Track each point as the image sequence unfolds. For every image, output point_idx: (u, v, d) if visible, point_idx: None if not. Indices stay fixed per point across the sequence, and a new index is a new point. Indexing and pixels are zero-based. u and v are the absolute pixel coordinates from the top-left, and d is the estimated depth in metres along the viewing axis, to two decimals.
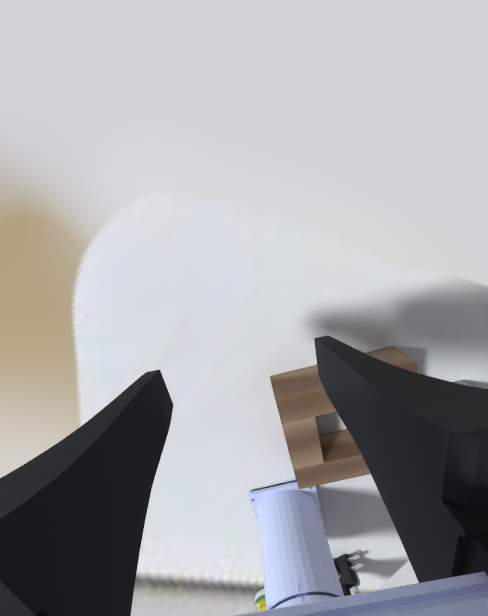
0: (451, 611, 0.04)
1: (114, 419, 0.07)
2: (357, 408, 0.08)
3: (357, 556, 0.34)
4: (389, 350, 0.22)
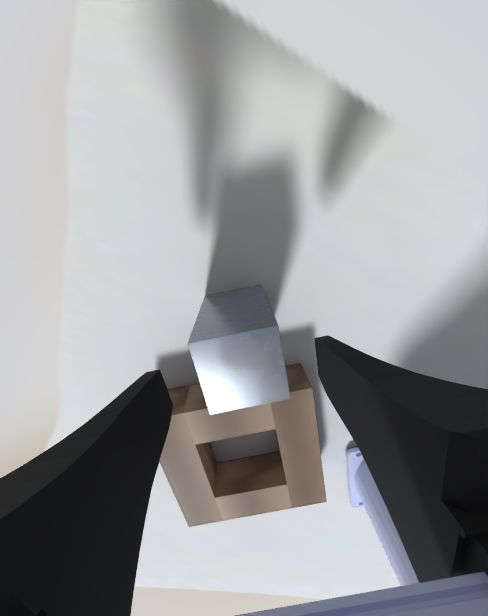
0: (451, 611, 0.04)
1: (114, 419, 0.07)
2: (357, 408, 0.08)
3: None
4: None
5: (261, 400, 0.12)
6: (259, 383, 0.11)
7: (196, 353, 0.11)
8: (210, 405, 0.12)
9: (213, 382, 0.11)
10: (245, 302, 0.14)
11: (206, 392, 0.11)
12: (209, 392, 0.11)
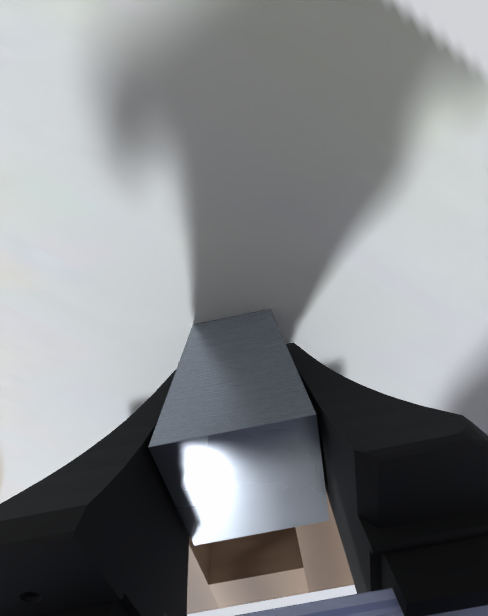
0: (451, 611, 0.04)
1: None
2: None
3: None
4: None
5: (280, 524, 0.07)
6: (278, 501, 0.07)
7: (165, 462, 0.06)
8: (194, 533, 0.07)
9: (198, 502, 0.06)
10: (250, 343, 0.09)
11: (186, 516, 0.07)
12: (191, 516, 0.07)
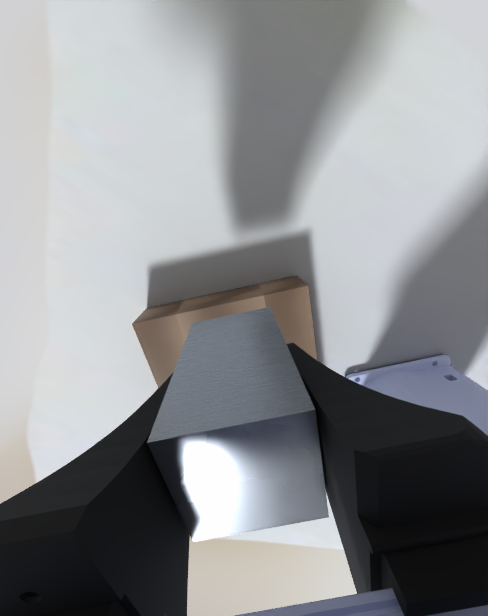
0: (451, 611, 0.04)
1: None
2: None
3: None
4: None
5: (279, 521, 0.07)
6: (277, 497, 0.07)
7: (164, 457, 0.06)
8: (193, 529, 0.07)
9: (197, 498, 0.06)
10: (249, 340, 0.09)
11: (185, 513, 0.07)
12: (190, 513, 0.07)
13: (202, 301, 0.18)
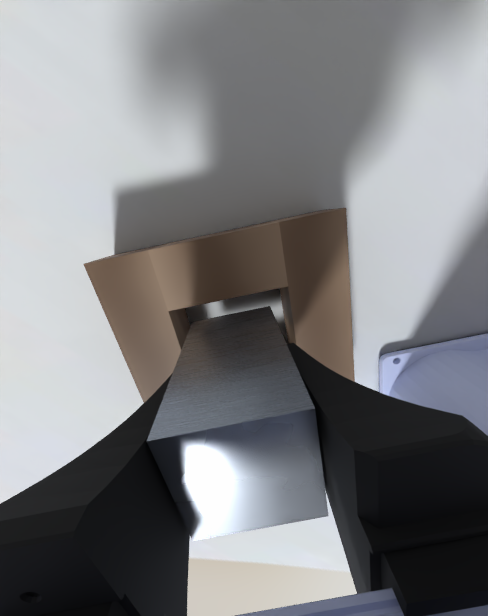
0: (451, 611, 0.04)
1: None
2: None
3: None
4: None
5: (279, 519, 0.07)
6: (276, 496, 0.07)
7: (164, 456, 0.06)
8: (192, 528, 0.07)
9: (196, 498, 0.06)
10: (249, 339, 0.09)
11: (185, 512, 0.07)
12: (190, 511, 0.07)
13: (189, 239, 0.12)
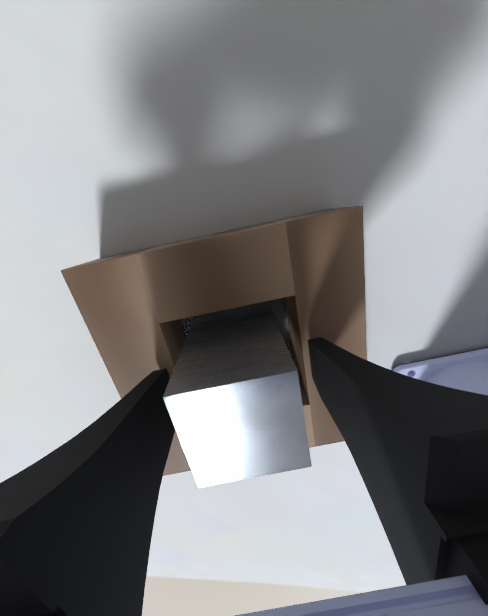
0: (451, 611, 0.04)
1: (124, 417, 0.07)
2: (347, 410, 0.08)
3: None
4: None
5: (270, 469, 0.08)
6: (268, 447, 0.08)
7: (176, 410, 0.07)
8: (198, 476, 0.08)
9: (202, 448, 0.08)
10: (246, 324, 0.11)
11: (192, 460, 0.08)
12: (197, 460, 0.08)
13: (183, 242, 0.11)
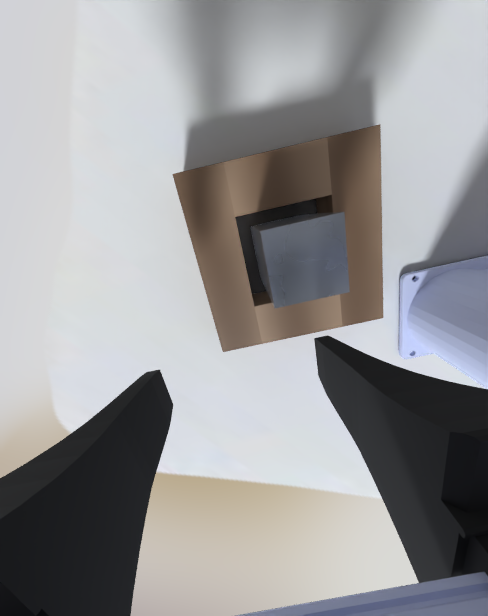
0: (451, 611, 0.04)
1: (114, 419, 0.07)
2: (357, 408, 0.08)
3: None
4: None
5: (322, 293, 0.13)
6: (322, 274, 0.12)
7: (267, 242, 0.12)
8: (275, 298, 0.13)
9: (280, 273, 0.12)
10: (296, 218, 0.15)
11: (273, 284, 0.12)
12: (275, 284, 0.12)
13: None
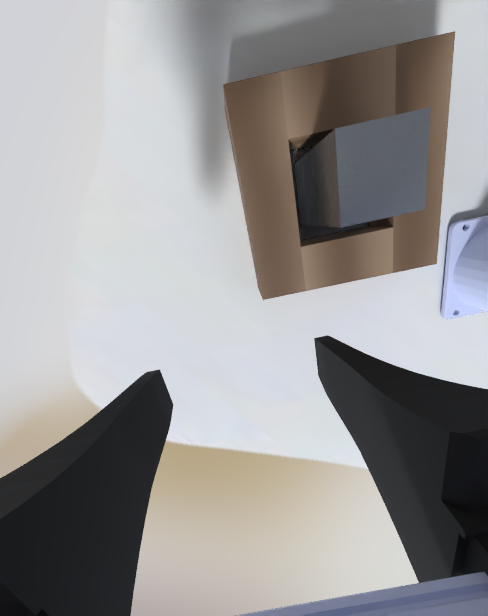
0: (451, 611, 0.04)
1: (114, 419, 0.07)
2: (357, 408, 0.08)
3: None
4: (227, 119, 0.15)
5: (395, 210, 0.11)
6: (397, 186, 0.11)
7: (341, 142, 0.10)
8: (343, 215, 0.11)
9: (351, 183, 0.11)
10: None
11: (342, 196, 0.11)
12: (345, 196, 0.11)
13: None
